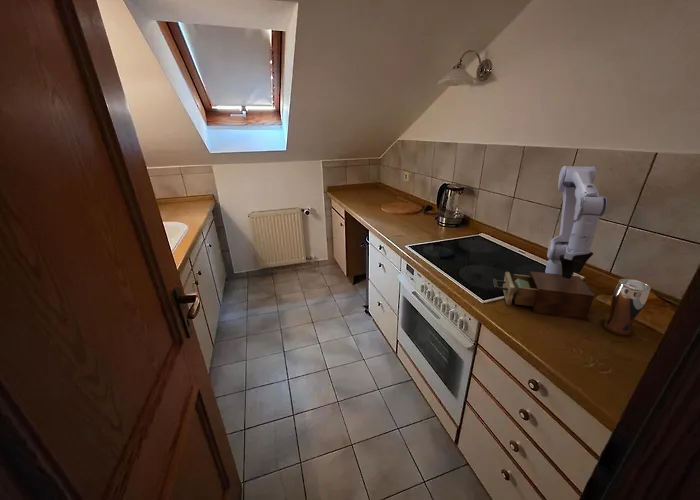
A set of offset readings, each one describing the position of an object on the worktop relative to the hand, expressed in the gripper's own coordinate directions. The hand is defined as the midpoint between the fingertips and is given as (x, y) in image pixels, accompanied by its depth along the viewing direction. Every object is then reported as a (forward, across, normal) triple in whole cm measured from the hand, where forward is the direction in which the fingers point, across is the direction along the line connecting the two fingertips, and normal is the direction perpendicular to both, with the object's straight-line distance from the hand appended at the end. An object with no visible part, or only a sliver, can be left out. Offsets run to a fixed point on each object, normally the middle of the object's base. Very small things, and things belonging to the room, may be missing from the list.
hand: (571, 274), depth 97 cm
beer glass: (+11, +3, +15) cm, 19 cm away
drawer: (+10, +10, -10) cm, 17 cm away
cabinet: (+10, +4, -1) cm, 11 cm away
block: (+7, +11, -11) cm, 17 cm away
